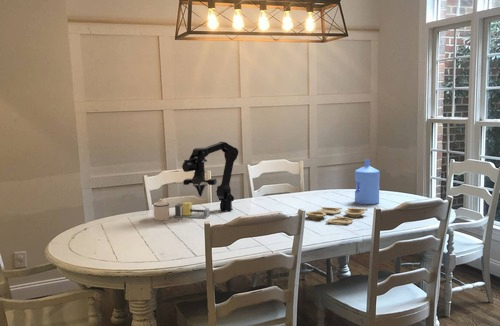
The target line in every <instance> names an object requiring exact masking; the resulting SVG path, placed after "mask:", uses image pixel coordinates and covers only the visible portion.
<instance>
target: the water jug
mask: <svg viewBox="0 0 500 326" xmlns="http://www.w3.org/2000/svg"><path fill="white" fill-rule="evenodd" d="M370 160H371V159H364V166H361V167H359V168H358V169H355V172H354V181H355V184H356V185H355V188H356V189H355V191H354V202H355V203H356V204H359V205H367V204H371V205H377V204H379V202H380V188H381V187H380V177H381V175H380V170H379V169H376V167H375V168H374V167H372V166H371V165H370V164H371V162H370Z"/></svg>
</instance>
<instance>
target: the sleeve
mask: <svg viewBox="0 0 500 326" xmlns="http://www.w3.org/2000/svg"><path fill="white" fill-rule="evenodd" d="M190 209H193V202H192V201H191V202H190V201H185V202H183V215H188V216H190V215H191V214H193V212H190Z"/></svg>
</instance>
